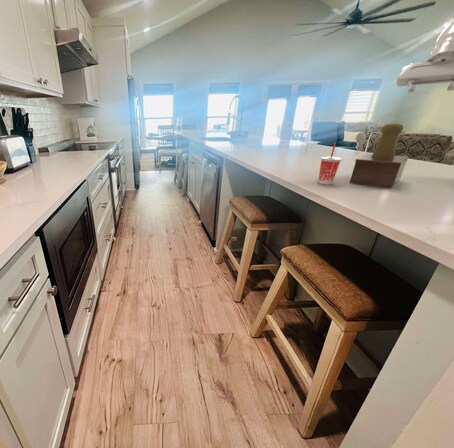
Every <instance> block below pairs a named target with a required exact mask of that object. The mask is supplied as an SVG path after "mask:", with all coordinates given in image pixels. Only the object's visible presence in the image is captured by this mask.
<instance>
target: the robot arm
mask: <svg viewBox="0 0 454 448" xmlns="http://www.w3.org/2000/svg"><path fill="white" fill-rule="evenodd" d="M452 16H453V18H454V15H452ZM447 83H448V86H447V89H446V91H447V92H449V91H454V20H453V21H451V22H450V23H448V25H446V27H445V28H444V30H443V31H442V32H441V33H440V35H439V36H438V37H437V40H436V42H435V44H434V47H433V49H432V50H431V52H430V54H429V56H428V57H427V60H426V61H419V62H412V63H409V64H407V65H405V66H403V67H402V68H401V70H400V73H399V75H398V76H397V79H396V86H397V87H398V88H399V87H400V88H401V87H406V88H407V89H408V90H407V94H414V93H415V91H416V86H421V85H433V84H434V85H436V84H447Z"/></svg>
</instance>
